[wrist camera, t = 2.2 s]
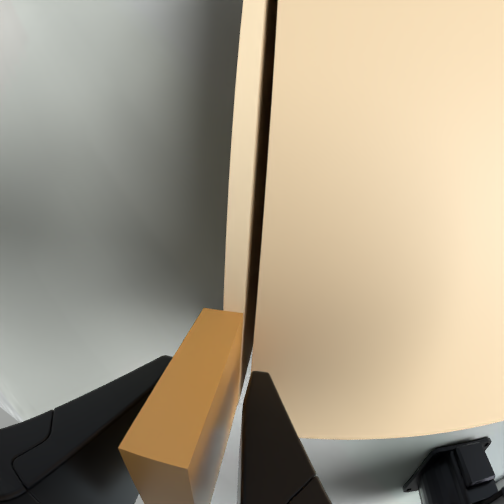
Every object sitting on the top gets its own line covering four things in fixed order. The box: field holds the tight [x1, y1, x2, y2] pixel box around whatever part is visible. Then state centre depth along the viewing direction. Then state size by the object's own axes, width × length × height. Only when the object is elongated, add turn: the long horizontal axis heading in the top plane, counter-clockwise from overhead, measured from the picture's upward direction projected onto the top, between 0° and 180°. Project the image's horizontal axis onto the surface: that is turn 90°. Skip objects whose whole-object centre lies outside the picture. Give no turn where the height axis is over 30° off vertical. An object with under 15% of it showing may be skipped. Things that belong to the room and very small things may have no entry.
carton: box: [251, 0, 504, 440], centre depth 8 cm, size 18×16×6 cm
